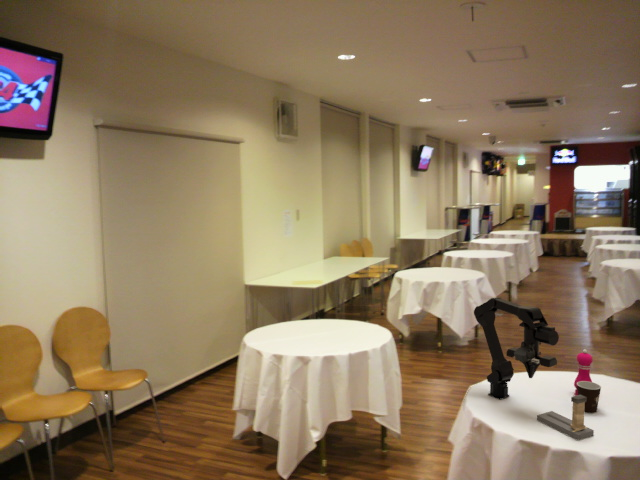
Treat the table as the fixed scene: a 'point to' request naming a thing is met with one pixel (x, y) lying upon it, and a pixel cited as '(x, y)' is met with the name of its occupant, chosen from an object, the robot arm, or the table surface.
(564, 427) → the fader console
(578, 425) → the fader lever
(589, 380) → the pepper mill
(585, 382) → the coffee mug
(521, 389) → the table surface
